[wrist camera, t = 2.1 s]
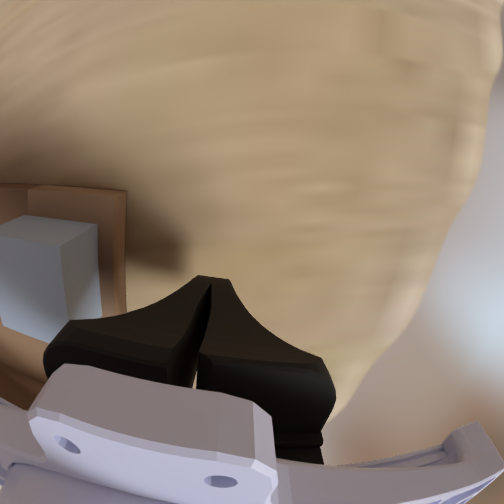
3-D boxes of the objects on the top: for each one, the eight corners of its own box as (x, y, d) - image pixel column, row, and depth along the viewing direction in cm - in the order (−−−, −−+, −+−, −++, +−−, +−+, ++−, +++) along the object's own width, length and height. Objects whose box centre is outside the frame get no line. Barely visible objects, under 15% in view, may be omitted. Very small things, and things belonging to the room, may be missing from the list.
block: (102, 315, 12) (75, 351, 10) (34, 297, 12) (3, 325, 9) (97, 224, 11) (59, 246, 8) (24, 214, 11) (-16, 232, 8)
